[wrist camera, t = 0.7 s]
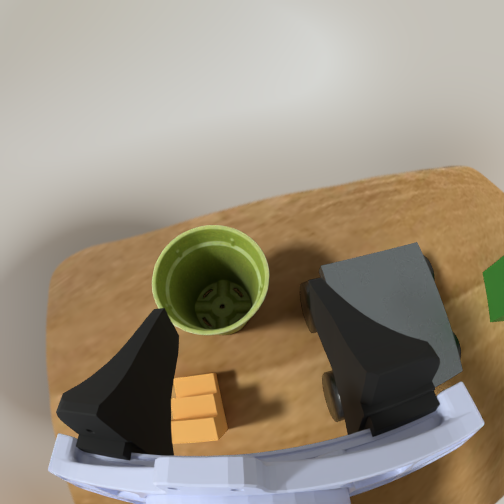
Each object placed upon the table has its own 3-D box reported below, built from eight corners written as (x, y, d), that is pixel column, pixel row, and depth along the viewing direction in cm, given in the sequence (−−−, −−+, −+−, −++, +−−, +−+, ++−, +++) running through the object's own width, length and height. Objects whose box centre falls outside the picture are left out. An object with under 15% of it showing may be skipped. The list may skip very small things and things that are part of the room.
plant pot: (222, 252, 32) (209, 206, 24) (286, 302, 29) (293, 268, 21) (164, 309, 29) (131, 279, 21) (226, 369, 26) (209, 361, 18)
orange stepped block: (228, 429, 23) (218, 440, 17) (189, 433, 23) (170, 443, 17) (216, 374, 26) (203, 370, 20) (179, 379, 25) (158, 376, 20)
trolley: (439, 371, 23) (472, 364, 18) (330, 418, 23) (347, 426, 17) (404, 265, 30) (427, 239, 24) (297, 293, 29) (304, 269, 24)
